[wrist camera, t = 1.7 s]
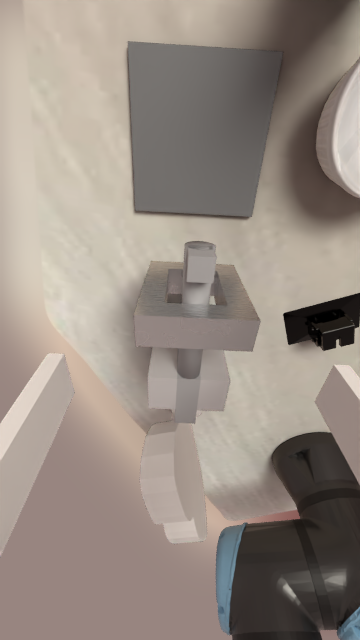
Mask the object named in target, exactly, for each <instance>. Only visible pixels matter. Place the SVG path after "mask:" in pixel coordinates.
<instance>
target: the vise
mask: <svg viewBox="0 0 360 640" xmlns="http://www.w3.org/2000/svg"><path fill="white" fill-rule="evenodd" d="M215 250H216V246H215V245H214V244H212V243H208V242H202V241H192V242H187V243H185V250H184V267H183V284H182V301H181V303H182V304H203V305H209V298H210V290H211V283H213V281H214V274H215V266H216V258H217V257H216V254H215ZM229 384H230V378H229V373H228V368H227V364H226V359H225V355H224V350H206V349H183V348H160V347H152V353H151V359H150V366H149V372H148V408H152V409H175V423H194V424H195V420H196V412H197V410H203V411H224V407H225V402H226V398H227V393H228V389H229Z"/></svg>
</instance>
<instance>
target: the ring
mask: <svg viewBox="0 0 360 640" xmlns="http://www.w3.org/2000/svg"><path fill="white" fill-rule="evenodd" d="M183 267H184V263H183V262H163V261H151V262H150V265H149V268H148V272H147V275H146V278H145V281H144V284H143V287H142V291H141V294H140V297H139V300H138V303H137V306H136V309H135V313H134V328H135V345H136V346H138V347H160V348H183V349H206V350H229V351H251V352H252V351H253V348H254V344H255V340H256V336H257V333H258V329H259V325H260V319H259V317H258V315H257V313H256V310H255V308H254V306H253V304H252V302H251V300H250V298H249V296H248V294H247V292H246V290H245V288H244V286H243V284H242V282H241V280H240V277H239V275H238V273H237V271H236V269H235V267H234V265H222V264H216V266H215V274H214V281H213V283H211V290H210V296H214V299H215V303H216V305H203V304H182V303H167V298H168V294H182V284H183Z"/></svg>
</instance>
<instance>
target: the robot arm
mask: <svg viewBox="0 0 360 640" xmlns="http://www.w3.org/2000/svg"><path fill="white" fill-rule="evenodd" d="M74 393H75V392H74V388H73V385H72V381H71V377H70V373H69V370H68V366H67V363H66V359H65V355H64V354H55V353H48V354H47V356H46V357H45V358H44V360H43V361H42V363H41V365H40V366H39V367H38V369H37V370H36V372H35V373H34V375H33V376H32V378H31V379H30V381H29V382H28V384H27V385H26V386H25V388H24V389H23V391H22V392H21V394H20V395H19V397H18V398H17V400H16V401H15V403H14V404H13V406H12V407H11V409H10V410H9V412H8V413H7V414H6V416H5V418H4V419H3V420H2V422H1V423H0V557H1V554H2V552H3V550H4V548H5V546H6V543H7V541H8V539H9V536H10V534H11V532H12V530H13V528H14V526H15V523H16V521H17V519H18V517H19V514H20V512H21V510H22V508H23V506H24V504H25V501H26V499H27V497H28V494H29V493H30V490H31V488H32V486H33V484H34V481H35V479H36V477H37V475H38V473H39V470H40V468H41V466H42V464H43V461H44V459H45V457H46V455H47V453H48V450H49V448H50V446H51V444H52V442H53V439H54V437H55V435H56V433H57V431H58V428H59V426H60V424H61V422H62V420H63V417H64V415H65V413H66V411H67V408H68V406H69V404H70V402H71V400H72V398H73V395H74ZM315 403H316V405H317V407H318V409H319V411H320V412H321V414H322V416H323V418H324V420H325V422H326V424H327V425H328V427H329V429H330V431H331V433H310V434H304V435H301V436H297V437H295V438H292V439H290V440H288V441H286V442H284V443H283V444H281V445H280V446H279V447H278V448H277V449H276V450H275V452H274V453H273V456H272V461H273V464H274V468H275V471H276V473H277V475H278V477H279V478H280V480H281V482H282V483H283V485H284V486H285V488H286V489H287V491H288V493H289V494H290V496H291V497H292V499H293V500H294V502H295V504H296V506H297V509H298V512H299V516H300V519H295V520H285V521H274V522H264V523H252V524H248V523H243V524H242V525H237V526H230V527H227V528H225V529H224V530H223V531H222V532H221V534H220V536H219V540H218V545H217V554H216V597H217V603H218V617H219V622H220V626H221V629H222V630H223V632H225V633H227V635H232V638H233V640H322V638H321V634H320V630H337V636H338V638H339V639H340V640H360V378H359V377H358V376H357V374H356V373H355V372H354V371H353V369H352V368H351V367H350V366H349V365H334V366H333V368H332V370H331V371H330V373H329V375H328V377H327V379H326V381H325V383H324V385H323V387H322V389H321V391H320V392H319V394H318V396H317V398H316V400H315Z"/></svg>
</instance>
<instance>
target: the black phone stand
mask: <svg viewBox="0 0 360 640" xmlns="http://www.w3.org/2000/svg"><path fill="white" fill-rule="evenodd" d="M283 316H284V322H285V328H286V334H287V340H288V345H291V344H295V343H299V342H303V341H306V340H310V339H312V341H313V342H314V343H315V344H316V345H317V347H319V346H320V347H321V348H322V350H323V351H325V350H329V349H333V348H336V340H337V339H339V345H340V346H341V347H342V346H346V345H350V344H354V333H355V328H357V327H359V322H360V293H358V294H354V295H350V296H346V297H343V298H339V299H335V300H331V301H328V302H324V303H320V304H316V305H313V306H309V307H305V308H301V309H298V310H294V311H290V312H286V313H284V314H283Z"/></svg>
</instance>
